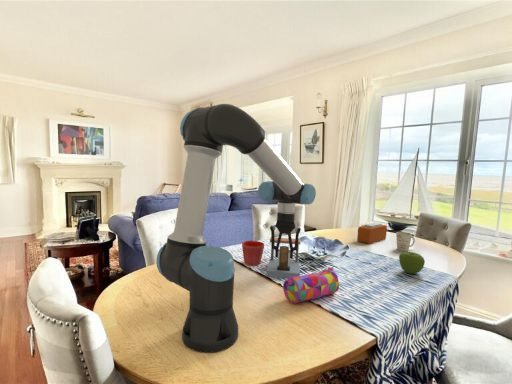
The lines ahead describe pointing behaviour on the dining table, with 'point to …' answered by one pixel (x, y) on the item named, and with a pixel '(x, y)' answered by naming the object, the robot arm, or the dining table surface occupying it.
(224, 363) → the dining table surface
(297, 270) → the socket board
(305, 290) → the pencil case
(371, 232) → the orange rectangular block
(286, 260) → the dowel
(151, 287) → the dining table surface
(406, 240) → the mug
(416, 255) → the apple
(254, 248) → the flower pot
